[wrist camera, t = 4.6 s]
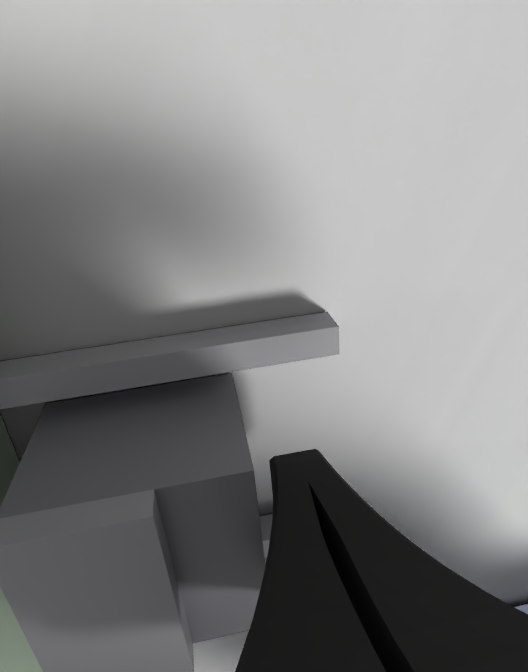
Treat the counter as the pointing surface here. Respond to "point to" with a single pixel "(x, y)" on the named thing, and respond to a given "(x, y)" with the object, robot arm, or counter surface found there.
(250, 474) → the grey block on ledge
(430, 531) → the counter surface
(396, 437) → the counter surface
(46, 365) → the mower deck
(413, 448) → the counter surface
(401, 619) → the robot arm
